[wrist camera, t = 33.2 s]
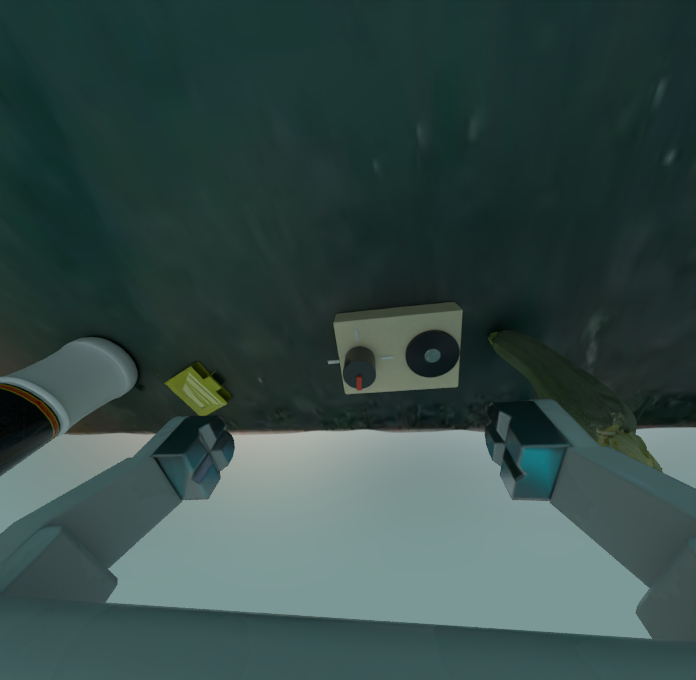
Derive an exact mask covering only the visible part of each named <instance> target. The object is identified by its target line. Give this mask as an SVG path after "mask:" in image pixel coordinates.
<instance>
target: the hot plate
mask: <svg viewBox="0 0 696 680" xmlns="http://www.w3.org/2000/svg"><path fill="white" fill-rule="evenodd" d="M462 312H463V310H462V309H461V308H460V307H459V306H458V305H457V304H456V303H455V302H446V303H437V304H427V305H417V306H407V307H398V308H388V309H378V310H368V311H359V312H349V313H339V314H336V316H335V319H334V322H333V324H334V330H335V336H336V342H337V348H338V354H339V360H340V361H339V360H331V361H328V364H333V363H340V366H341V372H342V378H343V368H344V362H345V356H346V354H347V352H348V351H349V350H350V349H352V348H354V347H358V346H362V347H366V348H368V349H370V350H371V351H372V352H373V354H374V356H375V363H376V379H375V381H374V383H373V384H372V385H371V386H369V387H367V388H364V389H362V391H360V390H357V389H356V388H352V387H350V386H349V385H348V384H346V382H345V381H344V379H343V384H344V390H345V394H356V393H372V392H387V391H403V390H418V389H433V388H449V387H458V376H459V360H460V355H459V359H458V362H457V363H456V365H455V366H454V367H453V368H452V369H451V370H450V371H449V372H447V373H446V374H444V375H441V376H438V377H433V378H428V377H422V376H419V375H417V374H415V373H414V372H413V371H411V369H410V368H409V367H408V365H407V362H406V358H405V352H406V348H407V346H408V344H409V343H410V341H411V340H412V339H413V338H414V337H415V336H417V335H418V334H420V333H422V332H425V331H429V330H440V331H444V332H446V333H448V334H450V335H451V336H452V337H453V338H454V339H455V340H456V341H457V343H458V345H459V349H460V344H461V328H462Z"/></svg>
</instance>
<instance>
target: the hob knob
mask: <svg viewBox="0 0 696 680" xmlns="http://www.w3.org/2000/svg"><path fill="white" fill-rule="evenodd" d="M343 379H344V381H345V382H346V384H348V385H349V386H350V387H352V388H356V389H357V390H360V391H362V389H364V388H367V387H369V386H371V385H372V384H373V383H374V381H375V379H376V363H375V356H374V354H373V352H372V351H371V350H370V349H368V348H366V347H362V346H358V347H354V348H352V349H350V350H349V351H348V352H347V354H346V356H345V362H344V368H343Z"/></svg>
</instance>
